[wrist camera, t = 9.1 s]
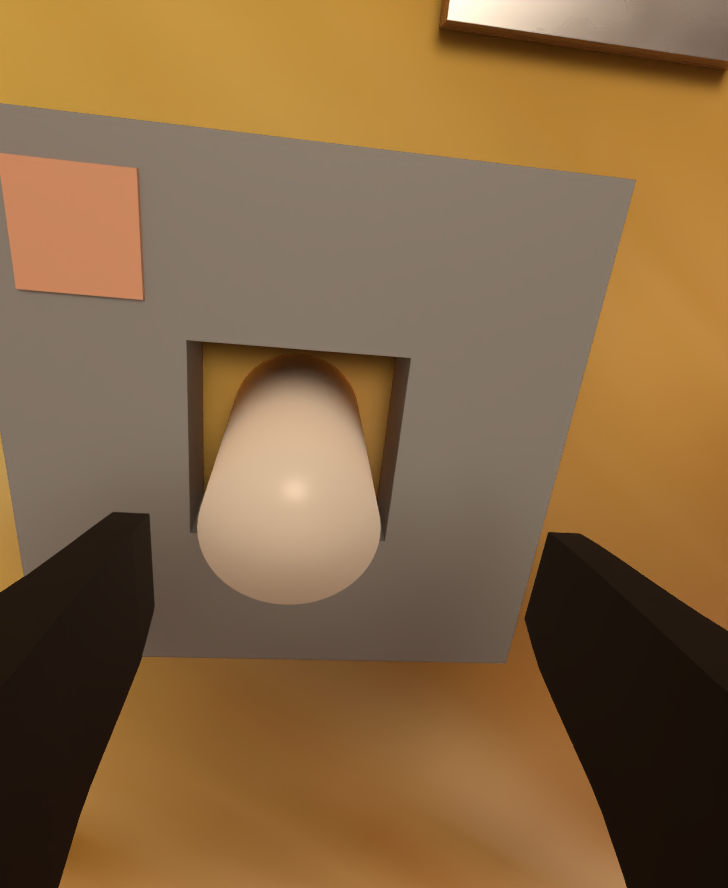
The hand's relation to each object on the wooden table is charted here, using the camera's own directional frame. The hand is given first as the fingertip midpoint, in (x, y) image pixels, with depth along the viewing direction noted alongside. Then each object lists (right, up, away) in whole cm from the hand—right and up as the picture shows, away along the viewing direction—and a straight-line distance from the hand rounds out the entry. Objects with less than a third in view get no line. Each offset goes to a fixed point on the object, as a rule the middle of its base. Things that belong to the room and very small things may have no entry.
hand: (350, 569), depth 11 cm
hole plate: (-2, +3, +9) cm, 9 cm away
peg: (-2, +3, +9) cm, 9 cm away
